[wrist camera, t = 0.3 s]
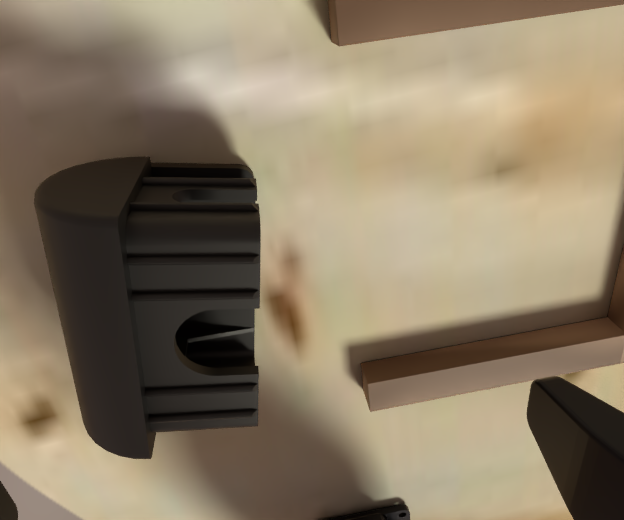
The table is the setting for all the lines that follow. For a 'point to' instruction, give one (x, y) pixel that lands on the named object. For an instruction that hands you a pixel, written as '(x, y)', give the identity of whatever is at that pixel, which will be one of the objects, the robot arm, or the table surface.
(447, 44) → the table surface
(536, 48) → the table surface
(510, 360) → the brown u-shaped frame
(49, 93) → the table surface
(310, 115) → the table surface
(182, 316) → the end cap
